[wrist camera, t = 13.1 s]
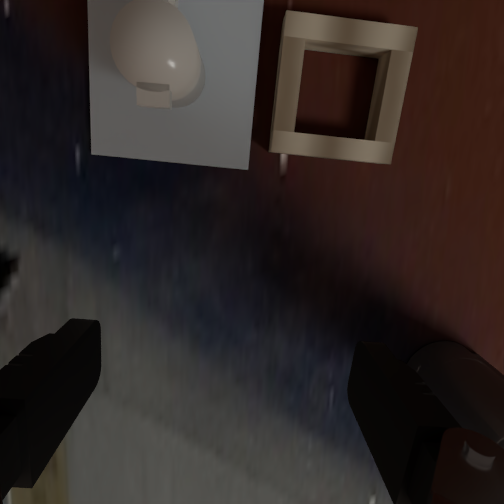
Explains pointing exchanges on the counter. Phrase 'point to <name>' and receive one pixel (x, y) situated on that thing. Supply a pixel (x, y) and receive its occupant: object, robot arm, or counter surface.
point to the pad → (189, 117)
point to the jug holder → (349, 43)
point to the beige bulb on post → (157, 54)
